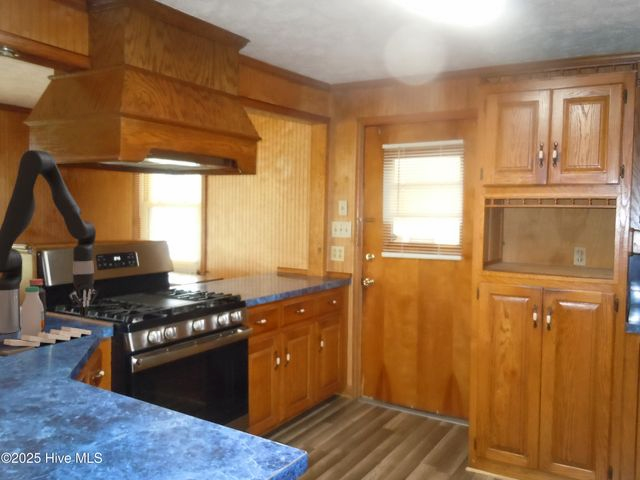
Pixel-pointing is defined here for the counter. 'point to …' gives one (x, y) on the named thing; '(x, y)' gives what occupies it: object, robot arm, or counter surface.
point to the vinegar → (40, 293)
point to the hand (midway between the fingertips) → (83, 315)
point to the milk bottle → (32, 313)
